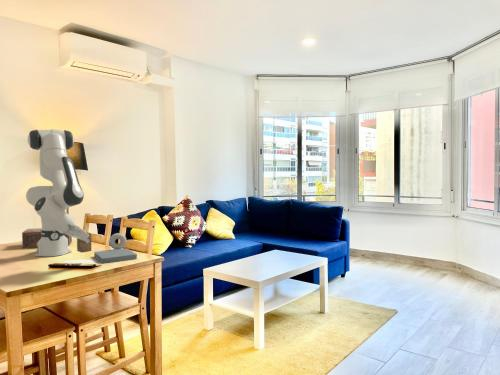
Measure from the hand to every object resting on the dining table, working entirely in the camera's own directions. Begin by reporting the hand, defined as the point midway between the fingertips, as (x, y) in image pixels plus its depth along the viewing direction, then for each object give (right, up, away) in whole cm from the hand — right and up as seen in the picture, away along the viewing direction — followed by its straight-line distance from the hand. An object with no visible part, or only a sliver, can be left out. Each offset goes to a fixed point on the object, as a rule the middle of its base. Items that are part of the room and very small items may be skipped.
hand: (85, 241), depth 194 cm
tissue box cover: (-46, -10, +51) cm, 69 cm away
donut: (+3, -11, +39) cm, 40 cm away
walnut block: (-1, -5, 0) cm, 5 cm away
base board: (+9, -12, +18) cm, 23 cm away
